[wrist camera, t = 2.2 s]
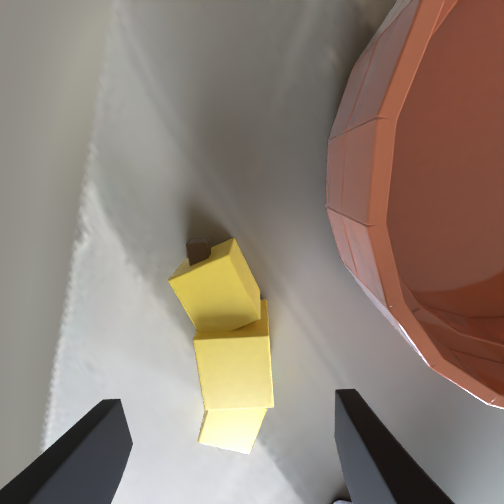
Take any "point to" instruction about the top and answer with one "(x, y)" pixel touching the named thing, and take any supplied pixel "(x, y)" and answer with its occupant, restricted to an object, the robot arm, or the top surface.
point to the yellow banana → (227, 342)
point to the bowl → (428, 184)
